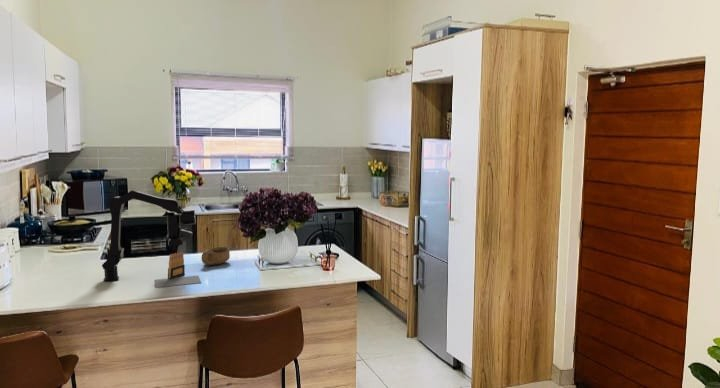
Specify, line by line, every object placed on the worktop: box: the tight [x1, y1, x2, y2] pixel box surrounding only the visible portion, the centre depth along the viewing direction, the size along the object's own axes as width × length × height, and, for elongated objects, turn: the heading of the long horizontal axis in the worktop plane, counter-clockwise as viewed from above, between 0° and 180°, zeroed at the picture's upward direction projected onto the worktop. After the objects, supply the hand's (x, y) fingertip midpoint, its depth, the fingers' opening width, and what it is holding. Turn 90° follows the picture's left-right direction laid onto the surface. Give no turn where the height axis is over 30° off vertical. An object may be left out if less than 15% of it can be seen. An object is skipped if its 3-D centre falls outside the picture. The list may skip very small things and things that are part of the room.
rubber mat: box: [154, 275, 202, 289], centre depth 259 cm, size 14×20×1 cm
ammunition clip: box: [167, 250, 186, 279], centre depth 266 cm, size 11×2×12 cm, turn 162°
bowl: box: [201, 246, 231, 266], centre depth 293 cm, size 18×14×10 cm
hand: (175, 256), depth 269 cm, fingers closed
